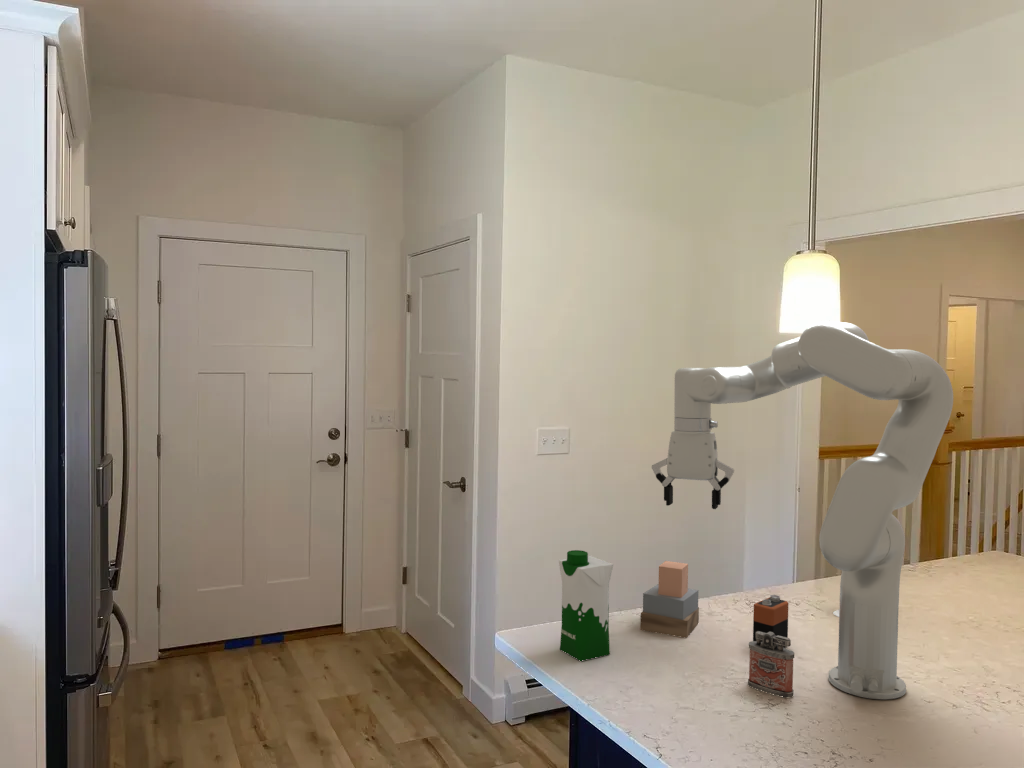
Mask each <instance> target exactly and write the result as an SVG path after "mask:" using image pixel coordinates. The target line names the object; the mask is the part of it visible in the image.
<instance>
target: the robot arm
mask: <svg viewBox="0 0 1024 768" xmlns="http://www.w3.org/2000/svg"><path fill="white" fill-rule="evenodd" d="M823 377H827V378H829V379H831V380H833V381H835V382H837V383H838V384H841V385H843V386H845V388H846V387H847V388H849V389H851V390H852V391H855V392H856V393H858V394H860V395H863V396H864V397H867V398H870V399H873V400H878V401H893V400H894V401H895V400H897V401H898V403H897V407H896V408H895V411H894V412H893V414H892V415H891V417H890V418H889V420H888V422H887V424H886V425H885V428H884V431H883V433H882V437H881V439H880V441H879V444H878V446H877V447H876V450H875V451H874V453H873V454H872V455H870V456H869V455H868V456H866V457H862V458H860V459H857V460H856V461H854V462H853V463H851V464H850V465H849V466H848V467H847V468H846V469H845V470H844V472H843V473H842V475H841V477H840V478H839V481H838V483H837V485H836V488H835V491H834V494H833V496H832V498H831V502H830V504H829V506H828V509H827V512H826V513H825V516H824V518H823V521H822V524H821V527H820V530H819V536H818V540H819V541H818V543H819V548H820V552H821V554H822V555H823V558H824V559H825V561H827V563H829V565H830V566H832V567H833V568H835V569H837V570H840V571H841V575H840V584H839V585H840V586H839V587H840V588H839V609H838V610H839V617H838V647H837V648H838V653H837V657H838V658H837V666H834V667H832V668H831V669H829V671H828V678H827V679H828V681H829V683H831V684H832V686H834V688H836V689H838V690H840V691H842V692H845V693H847V694H850V695H852V696H856V697H861V698H865V699H873V700H894V699H898V698H899V699H900V698H901V697H902V696H904V695H905V694H906V693H907V684H906V682H905V681H904V680H903V679H902V678H901V677H900V676H898V675H897V674H898V673H897V672H898V640H899V639H898V638H899V637H898V635H899V609H900V608H899V605H900V604H899V603H900V584H901V572H902V568H903V567H902V566H903V559H904V553H905V548H906V536H905V531H904V528H903V526H902V524H901V522H900V520H899V519H898V518H897V517H896V516H895V515H894V514H893V512H894V511H896V510H899V509H902V508H905V507H907V506H908V505H911V504H912V503H914V501H916V500H917V498H918V497H919V494H920V492H921V489H922V488H923V485H924V482H925V481H926V480H925V479H926V477H927V475H928V472H929V469H930V467H931V464H932V463H933V460H934V459H935V456H936V452H937V449H938V447H939V445H940V442H941V440H942V438H943V435H944V434H945V431H946V428H947V426H948V423H949V421H950V418H951V415H952V411H953V408H954V406H953V405H954V391H953V390H954V389H953V385H952V382H951V380H950V377H949V376H948V374H947V372H946V371H945V370H944V368H943V367H942V366H941V364H939V362H937V361H936V360H935V359H934V358H932V356H930V355H928V354H926V353H923V352H921V351H917V350H913V349H899V348H897V349H894V348H892V349H890V348H885V347H883V346H881V345H878V344H875V343H874V342H871V341H870V340H869V337H868V335H867V334H866V332H865V331H864V330H863V329H862V328H861V327H859V326H858V325H856V324H854V323H850V322H846V321H845V322H844V321H843V322H842V321H830V320H829V321H827V320H825V321H824V320H823V321H818V322H816V323H813V324H811V325H810V326H808V327H807V328H806V329H805V330H804V331H803V332H802V334H801V335H799V336H798V337H797V336H796V337H795V338H792V339H789V340H786V341H783V342H780V343H778V344H776V345H774V347H773V349H772V351H771V355H770V356H768V357H766V358H763V359H761V360H758V361H755V362H751V363H749V364H746V365H740V366H713V367H707V368H705V367H681V368H678V369H677V370H676V371H675V373H674V410H673V412H674V414H673V415H674V416H673V417H674V418H673V419H674V427H673V428H674V429H673V431H671V432H670V433H671V434H670V436H669V441H668V442H669V443H668V444H669V445H668V450H667V451H668V452H667V458H664V459H662V460H660V461H658V462H656V463H653V464H652V465H651V469H652V471H653V473H654V475H655V478H656V479H657V480H658V481H659V483H660V484H661V485H662V486H663V501H664V502H665V505H666V506H667V507H668V506H670V505H672V504H673V503H674V486H673V485H672V483H673V482H674V480H675V479H676V480H689V481H706V482H707V481H708V482H709V484H710V485H711V486H712V487H713V489H712V490H711V509H713V510H716V509H718V508H719V506H720V505H721V504H722V503H721V501H722V500H721V499H722V495H721V494H722V493H721V492H722V488H724V486H726V485H727V483H729V482H730V480H731V478H732V477H733V475H734V474H735V469H734V468H732V467H731V466H729V465H727V464H726V463H724V462H722V461H720V460H719V458H718V457H719V456H718V445H717V439H716V434H715V432H713V431H712V432H711V430H712V429H714V428H716V429H717V428H718V427H719V426H718V425H719V422H718V421H716V420H713V419H712V416H711V415H712V404H713V405H715V404H716V405H722V404H723V405H725V404H735V403H736V404H738V403H746V402H750V401H753V400H758V399H761V398H765V397H767V396H768V397H769V396H771V395H774V394H777V393H779V392H782V391H784V390H787V389H790V388H792V387H794V386H797V385H801V384H804V383H808V382H810V381H814V380H816V379H820V378H823ZM664 466H666V472H667V477H666V476H665V475H664V473H663V472H662V470H661V468H663V467H664ZM719 470H721V471H722V472H724V473H725V474H724V476H723V478H722V479H720V480H719V478H718V477H717V476H718V474H719Z"/></svg>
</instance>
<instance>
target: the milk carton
mask: <svg viewBox="0 0 1024 768" xmlns="http://www.w3.org/2000/svg"><path fill="white" fill-rule="evenodd" d="M558 564H559V565H558V566H559V571H560V577H561V629H560V644H559V650H560V651H561V650H562V652H563V651H564V653H565V652H566V653H565V654H567V653H568V654H569V655H568V654H567V655H568V656H570V655H571V656H570V657H572V656H573V657H575V658H577V659H578V660H577V659H576V660H577V661H579V660H580V661H581V662H583V661H582V660H585V661H587V660H586V659H590V660H592V659H591V658H594V659H596V658H595V657H598V658H601V657H600V656H602V657H605V656H604V655H606V656H609V654H611V651H610V649H611V648H610V631H609V627H610V626H609V625H610V624H609V622H610V620H609V619H610V618H609V615H610V614H609V613H610V612H609V611H610V610H609V609H610V607H609V606H610V581H611V576H612V571H613V567H614V564H613V563H611V562H608V561H605V560H604V559H600V558H598V557H595V556H593V555H589V553H588V551H585V550H581V549H580V550H578V549H575V550H568V551H567V553H566V558H563V559H558ZM573 657H572V658H573ZM575 658H574V659H575ZM580 661H579V662H580Z"/></svg>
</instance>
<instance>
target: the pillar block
mask: <svg viewBox="0 0 1024 768" xmlns="http://www.w3.org/2000/svg"><path fill="white" fill-rule="evenodd" d="M658 584H659V586H658V594H661V595H667V596H674V597H680V598H682V597H683V596H684V595H685V594H686V593H687V592H688V588H689V586H688V585H689V563H683V562H678V561H677V562H676V561H669V560H665V561H664V562H662V563H661V564H660V565H658Z"/></svg>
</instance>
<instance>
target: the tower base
mask: <svg viewBox="0 0 1024 768" xmlns="http://www.w3.org/2000/svg"><path fill="white" fill-rule="evenodd" d="M699 611H700V607H699V606H698V609H697V610H695V611H694V612H693V613H692V614H690V615H689V616H688V617H686V618H685V619H684V620H681V619H676V618H671V617H666V616H661V615H656V614H651V613H646V612H643V611H642V612H640V623H639V624H640V628H639V630H640V631H644V630H645V632H649V631H651V632H650V633H655V632H657V633H656V634H661V633H662V635H667V634H669V635H668V636H672V635H675V636H674V637H678V636H681V637H680V638H684V637H685V639H688V638H689V636H690V635H691V634H692V633H693V631H694V630H695V629H696V627H697V626H698V625H699V624H698V623H699V619H700V618H699V617H700V616H699V615H700V612H699ZM690 633H691V634H690Z"/></svg>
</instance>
